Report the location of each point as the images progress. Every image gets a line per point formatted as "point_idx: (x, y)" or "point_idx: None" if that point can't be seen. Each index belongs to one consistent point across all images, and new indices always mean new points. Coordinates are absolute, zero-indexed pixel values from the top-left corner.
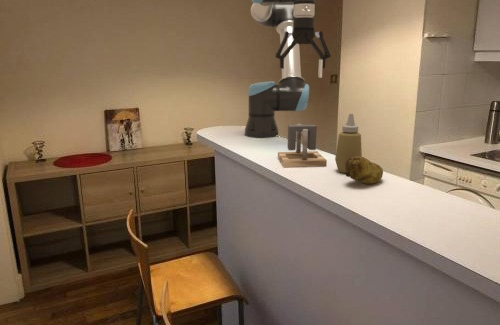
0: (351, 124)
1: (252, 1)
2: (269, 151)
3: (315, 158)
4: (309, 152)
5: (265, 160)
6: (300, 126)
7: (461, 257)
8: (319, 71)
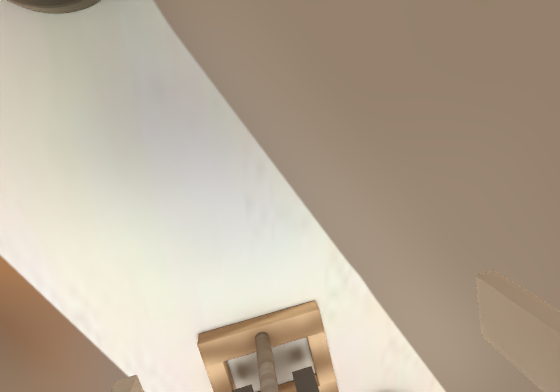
0: None
1: None
2: (157, 262)
3: None
4: (295, 330)
5: (166, 369)
6: None
7: None
8: (522, 345)
